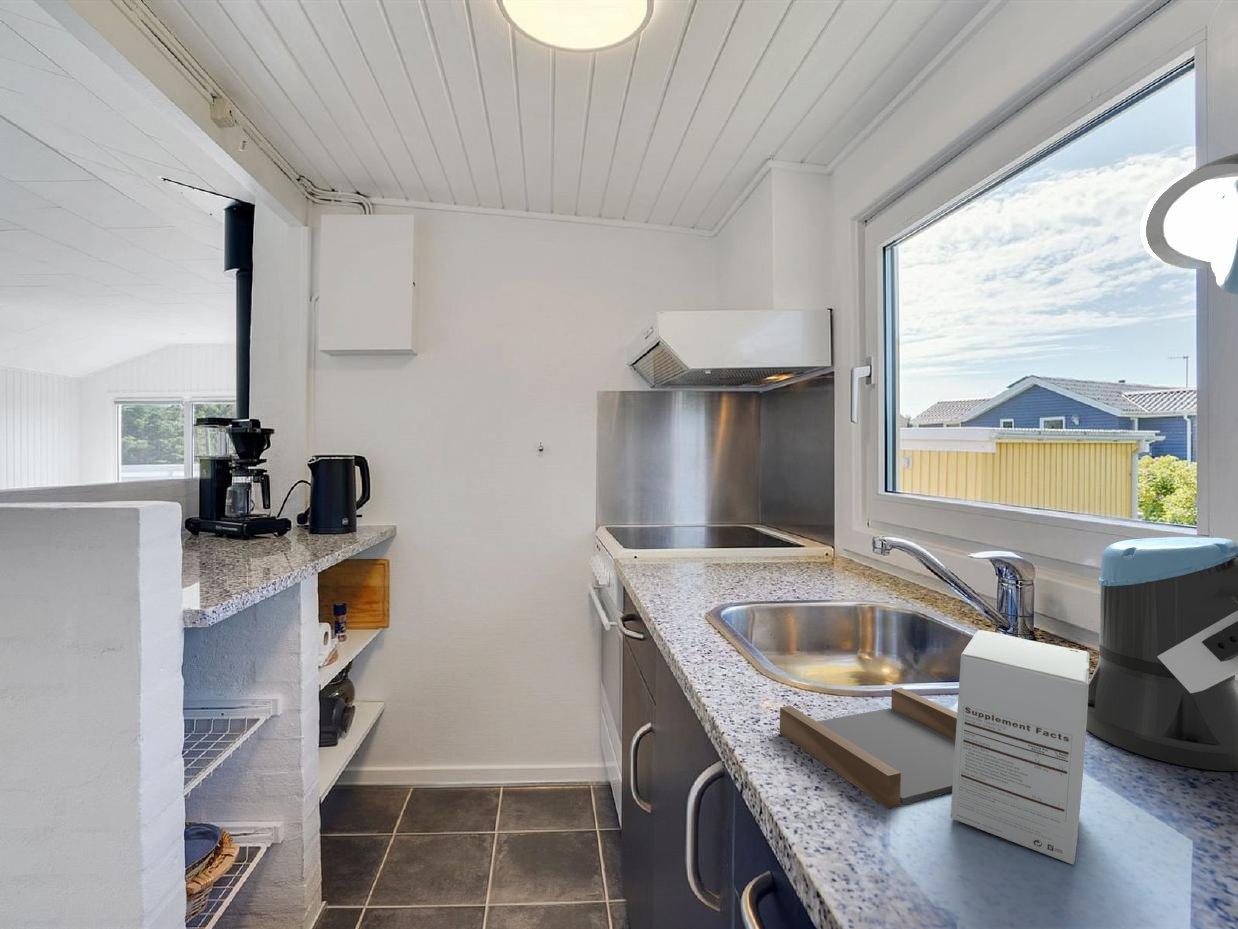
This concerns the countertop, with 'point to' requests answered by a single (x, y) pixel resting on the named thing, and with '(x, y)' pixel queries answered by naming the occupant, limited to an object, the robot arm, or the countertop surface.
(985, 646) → the supplement box
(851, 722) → the mat
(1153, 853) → the countertop surface
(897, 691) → the rails
